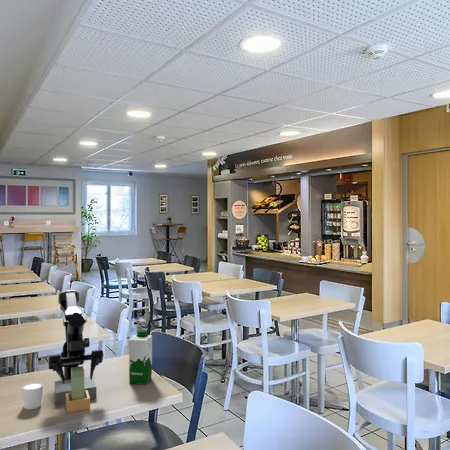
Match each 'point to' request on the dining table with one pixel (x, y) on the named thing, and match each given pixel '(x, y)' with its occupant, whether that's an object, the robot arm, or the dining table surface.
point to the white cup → (32, 395)
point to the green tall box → (77, 383)
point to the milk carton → (140, 357)
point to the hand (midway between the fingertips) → (77, 381)
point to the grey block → (65, 394)
